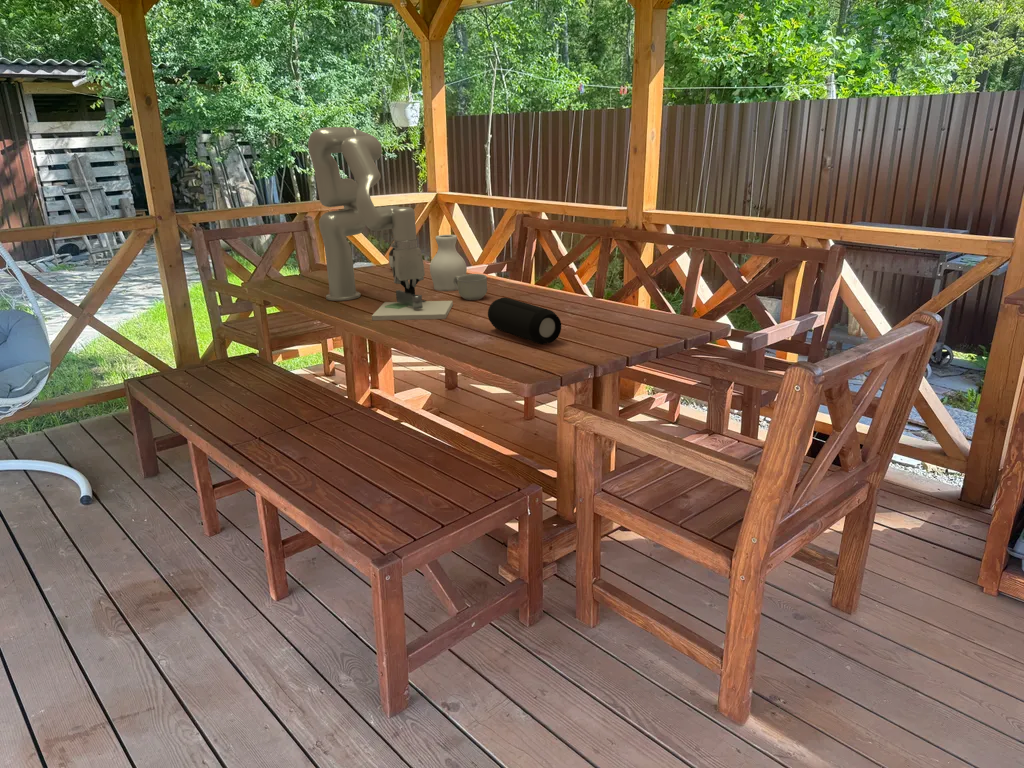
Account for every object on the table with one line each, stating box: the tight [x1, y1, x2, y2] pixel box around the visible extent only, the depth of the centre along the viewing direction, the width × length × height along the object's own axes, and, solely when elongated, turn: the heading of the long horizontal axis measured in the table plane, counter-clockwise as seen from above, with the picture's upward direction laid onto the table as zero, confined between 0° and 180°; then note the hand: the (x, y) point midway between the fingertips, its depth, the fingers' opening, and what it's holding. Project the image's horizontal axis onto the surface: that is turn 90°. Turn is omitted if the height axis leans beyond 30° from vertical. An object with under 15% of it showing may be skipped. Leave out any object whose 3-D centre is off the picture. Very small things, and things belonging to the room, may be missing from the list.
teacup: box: [454, 273, 488, 301], centre depth 263 cm, size 14×11×8 cm
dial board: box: [371, 299, 454, 321], centre depth 245 cm, size 20×24×2 cm
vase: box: [429, 234, 468, 292], centre depth 280 cm, size 14×14×20 cm
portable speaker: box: [487, 297, 562, 345], centre depth 211 cm, size 26×10×10 cm, turn 35°
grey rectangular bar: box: [395, 289, 423, 309], centre depth 246 cm, size 15×3×4 cm, turn 38°
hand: (410, 298), depth 250 cm, fingers closed
